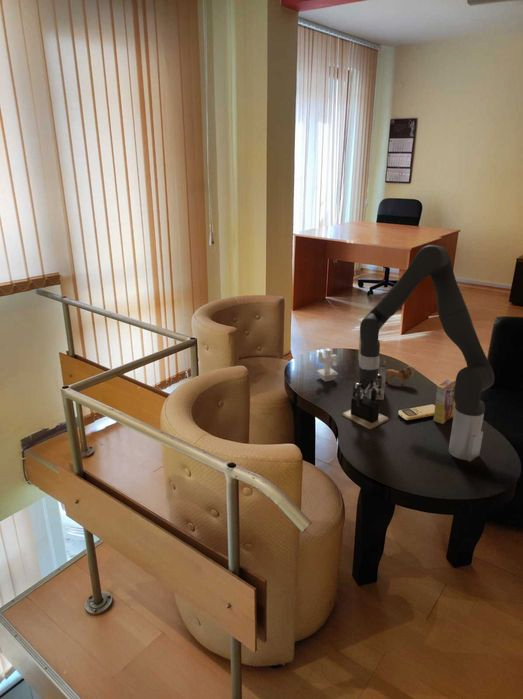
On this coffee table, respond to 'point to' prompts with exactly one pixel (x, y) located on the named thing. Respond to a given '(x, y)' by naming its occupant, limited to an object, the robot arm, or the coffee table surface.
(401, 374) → the lion figurine
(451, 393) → the candy box
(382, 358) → the coffee box
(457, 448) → the robot arm
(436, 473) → the coffee table surface
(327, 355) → the figurine
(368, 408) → the digital camera
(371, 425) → the birch board
